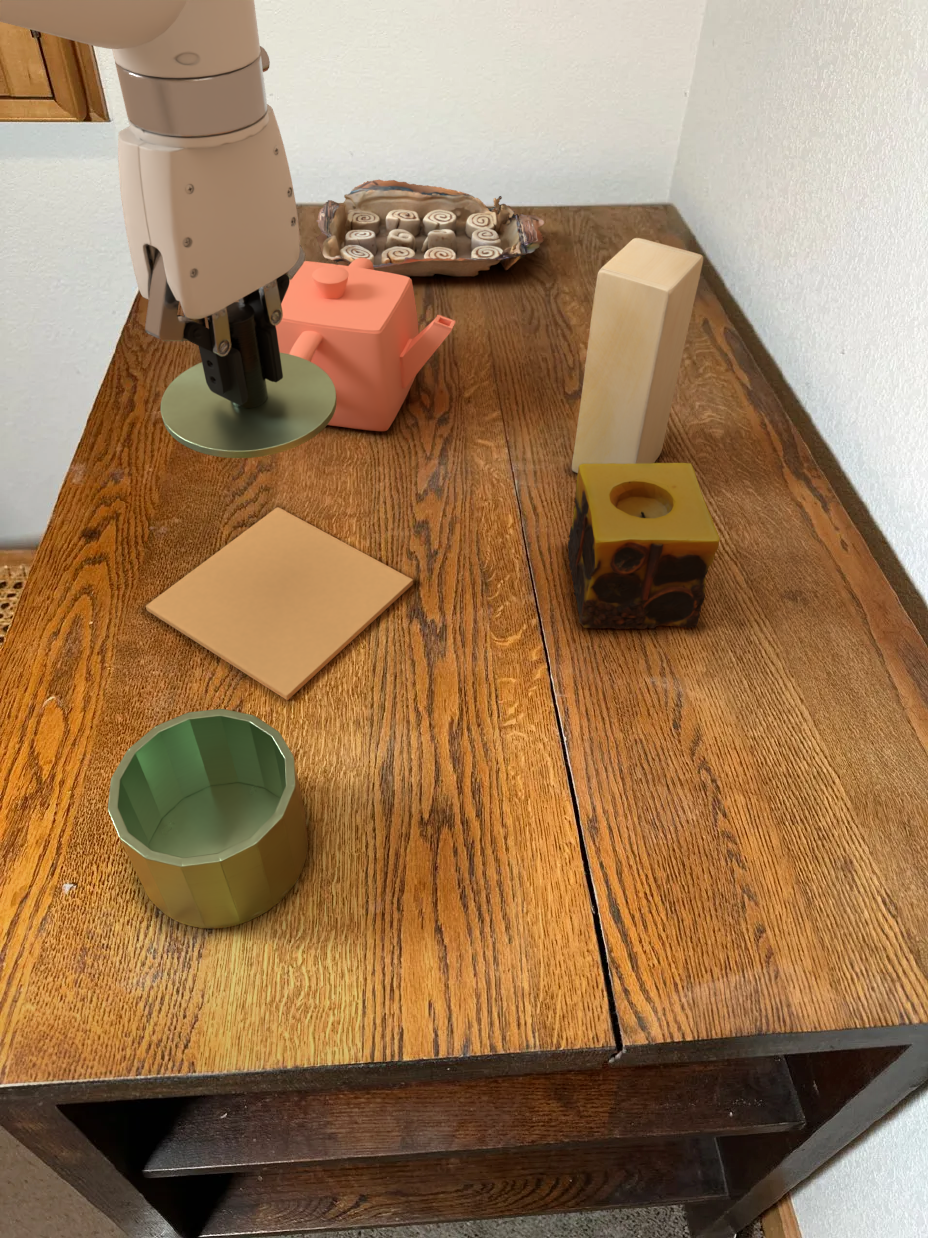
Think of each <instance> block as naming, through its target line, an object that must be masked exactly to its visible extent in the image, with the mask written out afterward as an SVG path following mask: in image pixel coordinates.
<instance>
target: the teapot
mask: <svg viewBox="0 0 928 1238" xmlns="http://www.w3.org/2000/svg"><path fill="white" fill-rule="evenodd" d="M289 281H290V282H289V287H288V289H287V292H286V294H285V296H284V299H283V301H282V303H281V306H282V312H283V317H282V320H281V322H280V323H279V324H278V325H276V331H277V338H278V345H279V352H280V353H285V354H290V355H294V356H297V357H300V358H303V359H305V360H308V361H310V362H312V363H314V364H315V365H317V366H318V367H320V368H321V369H322V370H323V371H325V372H326V373H327V374H328V376H329V377H330V378H331V380H332V382H333V384H334V386H335V390H336V400H337V405H336V409H335V412H334V415H333V417H332V419H331V420H330V422H329V423H328V425H327V426H332V427H340V428H347V429H355V430H363V431H371V432H372V431H373V432H386V431H388V430H389V429H390V427H391V426H392V424H393V423H394V421H395V419H396V417H397V415H398V414H399V412H400V409H401V408H402V406H403V404H404V402H405V400H406V398H407V396H408V394H409V392H410V390H411V387H412V385H413V383H414V381H415V378H416V376H417V374H418V373H419V372H420V371H421V369H422V368H423V367H424V366H425V365H426V363H427V362H428V361H429V359H430V358H431V357H432V356H433V355H434V353H435V352H436V351H437V350H438V349H439V347H440V346H441V345H442V343H443V342H444V341H445V340H446V338H448V336H449V335H450V334H451V333H452V331H453V329H454V327H455V325H456V320H454V319H451V318H449V317H447V316H444V315H441V314H437V315H436V317H435V318H434V319H433V320H431V322H430V323H428V324H427V326H426V327H424V329H422V330H421V331H419V321H418V320H419V319H418V312H417V305H416V298H415V292H414V285H413V280H412V278H410V276H403V275H399V274H393V273H388V272H382V271H376V270H374V267H373V263H372V262H371V261H370V260H369V259H367V258H357V259H355V260H354V261H353V262H352V263H351V264H348V266H344V265H338V264H337V263H336V264H335V263H327V262H320V261H311V260H309V261H308V260H305V261H304V263H303V265H302V266H301V267H300V269H299V270H298V271H297V273H296V274H295V275H294V277H293V278H292V279H291V280H290V279H289Z"/></svg>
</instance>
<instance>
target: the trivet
mask: <svg viewBox="0 0 928 1238" xmlns="http://www.w3.org/2000/svg"><path fill="white" fill-rule="evenodd" d="M413 585H414V579H413V578H412V577H409V576H407V575H405V574H404V573H402V572H400V571H398V570H397V569H394V568H392V567H390V566H388V565H387V564H385V563H383V562H381V561H379V560H377V559H375V557H371V556H370V555H368V554H366V553H364V552H362V551H360V550H359V549H356V548H355V547H354V546H351V545H349V544H348V543H346V542H344V541H342V540H341V539H338V538H337V537H335V536H333V535H331V534H329V533H327V532H325V531H323V530H321V529H320V528H318V527H316V526H314V525H312V524H310V523H309V522H307V521H305V520H303V519H301V518H299V517H297V516H296V515H294V514H292V513H290V512H288V511H287V510H284V509H282V508H281V507H278V506H277V507H275V508H274V509H272V510H271V511H270V512H268V513H267V514H266V515H264V516H263V517H262V518H261V519H260V520H259V519H258V521H257V522H255V523H254V524H253V525H251V526H250V527H248V528H247V529H246V530H245V531H243V532H242V533H241V534H239V535H238V536H237V537H235V538H234V539H233V540H231V541H230V542H229V543H227V544H226V545H224V546H223V547H222V548H220V549H219V550H218V551H217V552H215V553H214V554H212V555H211V556H210V557H209V558H207V559H206V560H204V562H203V561H202V563H200V564H199V565H198V566H197V567H195V568H194V569H193V570H191V571H190V572H189V573H187V574H186V575H184V577H182V578H181V579H180V580H177V582H175V583H174V584H173V585H171V586H170V587H169V588H167V589H166V590H165V591H163V592H162V593H161V594H159V595H158V596H157V597H155V598H154V599H152V600H151V601H150V602H148V603H147V604H146V605H145V608H146V611H147V612H149V613H150V614H151V615H154V616H155V617H156V618H157V619H159V620H161V621H162V622H164V623H166V624H167V625H168V626H170V627H172V628H173V629H175V630H177V631H178V632H180V633H181V634H182V635H184V636H186V637H187V638H189V639H191V640H192V641H194V642H195V643H196V644H199V646H201V647H203V648H205V649H206V650H208V651H209V652H211V653H212V654H214V655H215V656H217V657H219V658H221V660H223V661H225V662H226V663H228V664H230V665H231V666H232V667H234V668H236V669H238V670H239V671H240V672H242V673H244V674H245V675H247V676H249V677H250V678H251V679H253V680H255V681H257V683H259V684H261V685H263V687H265V688H267V689H268V690H270V691H271V692H273V693H275V694H277V695H278V696H280V697H281V698H283V699H284V700H285V701H289V700H290V699H291V698H292V697H293V696H294V695H296V693H298V691H300V690H301V689H302V688H303V687H304V686H305V685H306V684H307V683H308V682H309V681H310V680H311V679H313V678H314V676H316V675H317V674H318V673H319V672H320V671H321V670H322V669H323V668H325V667H326V665H328V664H329V663H330V662H331V661H332V660H333V659H334V658H335V657H336V656H337V655H339V653H341V652H342V651H343V650H344V649H345V648H346V647H347V646H348V645H349V644H350V643H352V641H353V640H355V639H356V638H357V637H358V636H359V635H360V634H361V633H362V632H363V631H364V630H366V628H367V627H369V626H370V625H371V624H372V623H373V622H374V621H375V620H377V618H378V617H379V616H380V615H382V614H383V613H384V612H385V611H386V610H387V609H388V608H389V607H390V606H392V604H393V603H395V602H396V601H397V600H398V599H399V598H400V597H401V596H402V595H403V594H404V593H405V592H407V590H409V588H411V587H412V586H413Z"/></svg>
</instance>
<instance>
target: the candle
mask: <svg viewBox="0 0 928 1238" xmlns="http://www.w3.org/2000/svg"><path fill="white" fill-rule="evenodd" d="M701 489H702V488H701V486H700V484H699V480H698V478H697V475H696V471H695V469H694V467H693V464H692V463H691V462H654V463H637V464H616V463H608V464H581V465H579V468H578V473H577V476H576V485H575V497H574V507H573V516H572V522H571V526H570V529H569V534H568V538H569V539H568V541H567V550H568V551H567V552H568V560H569V564H568V566H569V570H570V571H571V572H570V576H571V580H572V585H573V586H572V587H573V590H574V592H573V594H574V597H575V600H576V606H577V611H578V616H579V619H578V623H579V624H580V625H581V626H582V627H583V628H584V629H607V628H609V629H615V630H616V629H618V630H619V629H639V630H644V629H647V628H648V629H655V628H656V627H658V626H668V627H678V628H687V629H690V628H697V627H698V624H699V620H700V616H701V612H702V606H703V604H704V602H705V599H706V589H707V587H706V586H707V584H706V582H707V575H708V572H709V569H710V567H711V566H712V564H713V563H714V560H715V556H716V553H717V551H718V549H719V548H720V540H721V538H720V535H719V532H718V529H717V527H716V526H715V522H714V520H713V518H712V515H711V513H710V511H709V509H708V506H707V503H706V500H705V497H704V495H703V492H702V490H701Z"/></svg>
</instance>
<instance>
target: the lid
mask: <svg viewBox="0 0 928 1238" xmlns="http://www.w3.org/2000/svg"><path fill="white" fill-rule="evenodd" d="M227 313H228V321H229V329H230V337H231V347H233V348H235V349H237V350H239V352H240V354H241V359H242V364H243V370H244V376H245V381H246V387H247V393H248V399H247V402H245V403H244V404H242V405H238V404H236V403H234V402H232V401H230V400H227V399H225V398H223V397H221V396H219V395H217V394H215V393H213V392H212V391H211V390H210V389H209V387H208V385H207V383H206V379H205V374H204V369H203V365H202V361H201V362H199V363H197V364H195V365H193V366H191V367H188V369H186V370H185V371H183V372H181V373H180V374H179V375H178V376H177V377H175V378H174V379H173V380H172V381H171V382H170V383H169V385H168V386H167V388H165V391H164V392H163V395H162V397H161V400H160V414H161V418H162V422H163V425H164V426H165V430H166V431H167V433H169V434H170V436H171V438H172V439H174V440H176V441H177V442H178V443H180V444H181V445H182V446H184V447H186V448H187V449H190V450H192V451H195V452H198V453H201V454H204V455H208V456H212V457H218V458H225V459H252V458H253V459H254V458H260V457H266V456H272V455H276V454H279V453H282V452H283V453H284V452H286V451H289V450H291V449H294V448H297V447H299V446H301V445H303V444H304V443H307V442H308V441H311V440H312V439H313V438H315V437H317V435H319V434H320V433H321V432H322V431H323V430H324V429H325V428H326V427H327V426H329V425H328V423H329V422H330V420H331V419H332V417H333V415H334V412H335V409H336V405H337V400H336V390H335V386H334V384H333V382H332V380H331V378H330V377H329V376H328V374H327V373H326V372H325V371H323V370H322V369H321V368H320V367H318V366H317V365H315V364H314V363H312V362H310V361H308V360H305V359H303V358H300V357H297V356H294V355H290V354H285V353H280V359H281V366H282V373H283V378H282V379H281V380H279V381H278V382H272V381H269V380H267V379H265V373H264V367H263V361H262V354H261V348H260V342H259V335H258V329H257V323H256V316H255V310H254V308H253V307H252V306H251V305H249V304H246V303H242V302H239V301H236V302H234V303H232V304H230V305H228V306H227Z"/></svg>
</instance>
